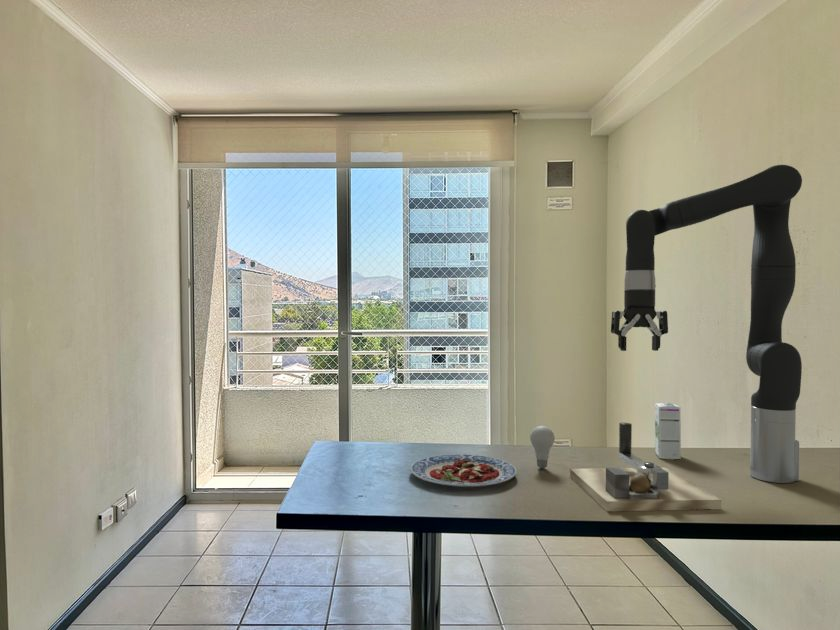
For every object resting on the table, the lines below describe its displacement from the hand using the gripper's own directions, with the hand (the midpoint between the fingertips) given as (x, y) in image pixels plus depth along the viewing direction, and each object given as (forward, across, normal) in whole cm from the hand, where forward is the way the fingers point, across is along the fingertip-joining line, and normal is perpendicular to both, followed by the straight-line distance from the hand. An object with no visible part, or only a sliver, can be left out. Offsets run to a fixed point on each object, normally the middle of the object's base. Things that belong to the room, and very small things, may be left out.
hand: (639, 350), depth 147 cm
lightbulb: (+30, +26, +2) cm, 40 cm away
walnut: (+28, +12, +28) cm, 41 cm away
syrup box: (+30, -12, -8) cm, 34 cm away
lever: (+27, +8, +19) cm, 34 cm away
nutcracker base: (+30, +9, +20) cm, 38 cm away
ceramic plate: (+30, +47, +7) cm, 56 cm away
